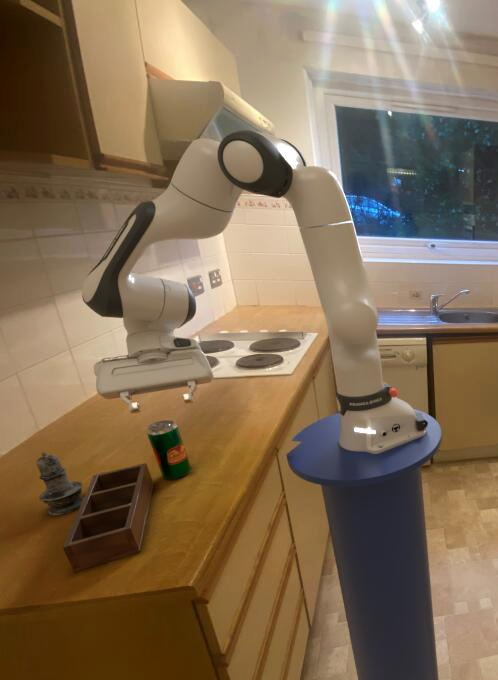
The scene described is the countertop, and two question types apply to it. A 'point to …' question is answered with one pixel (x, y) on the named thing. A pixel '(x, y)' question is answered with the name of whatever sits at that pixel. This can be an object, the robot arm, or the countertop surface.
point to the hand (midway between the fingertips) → (162, 406)
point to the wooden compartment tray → (110, 518)
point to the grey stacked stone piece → (58, 486)
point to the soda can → (168, 449)
